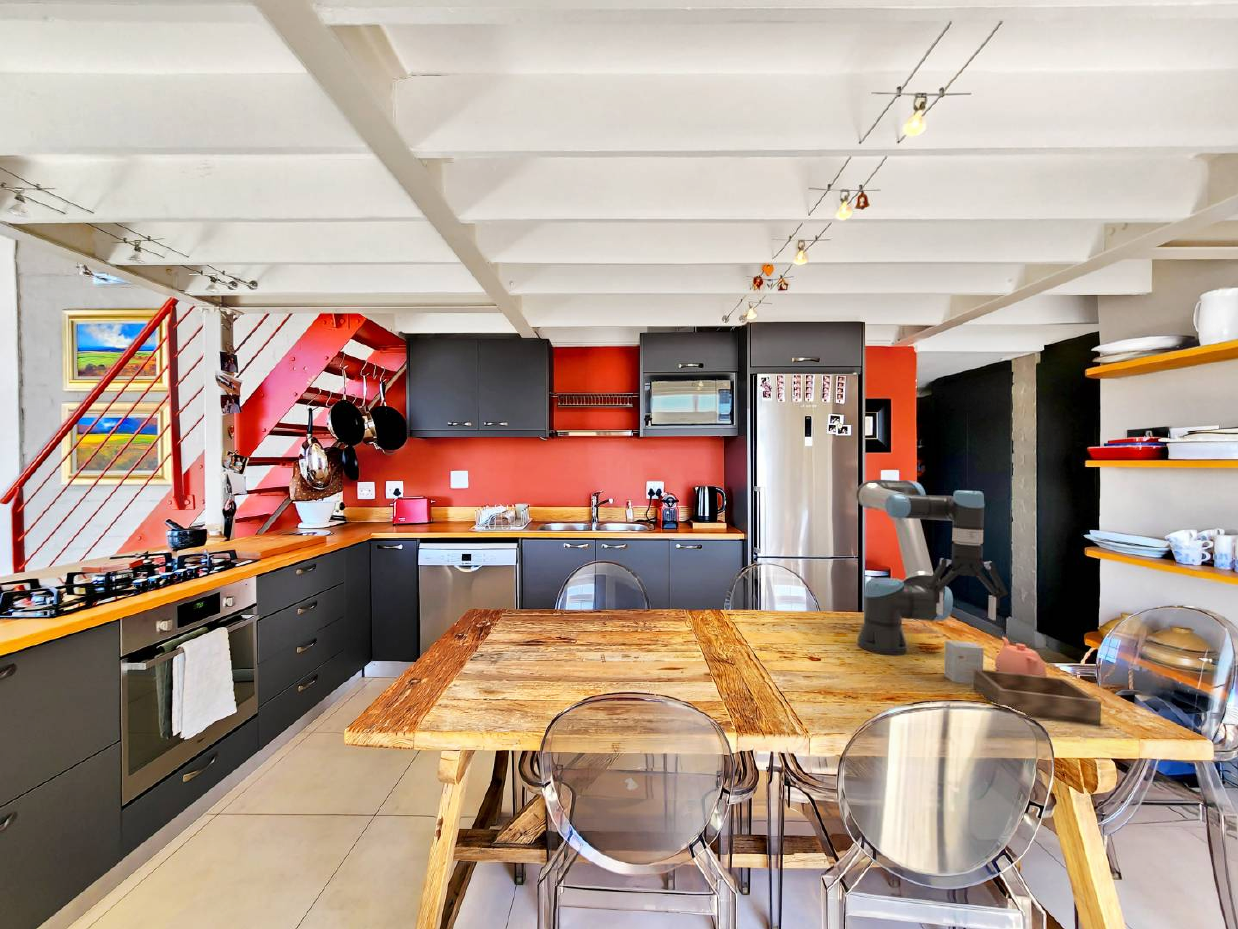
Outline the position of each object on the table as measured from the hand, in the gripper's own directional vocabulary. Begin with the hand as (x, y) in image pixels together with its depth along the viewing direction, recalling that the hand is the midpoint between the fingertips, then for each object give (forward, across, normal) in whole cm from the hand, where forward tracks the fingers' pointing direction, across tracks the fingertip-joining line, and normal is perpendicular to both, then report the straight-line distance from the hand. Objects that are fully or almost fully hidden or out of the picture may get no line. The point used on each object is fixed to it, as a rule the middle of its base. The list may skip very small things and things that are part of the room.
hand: (965, 616), depth 154 cm
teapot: (+19, +19, +11) cm, 29 cm away
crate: (+18, +11, -14) cm, 25 cm away
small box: (+19, 0, 0) cm, 19 cm away
